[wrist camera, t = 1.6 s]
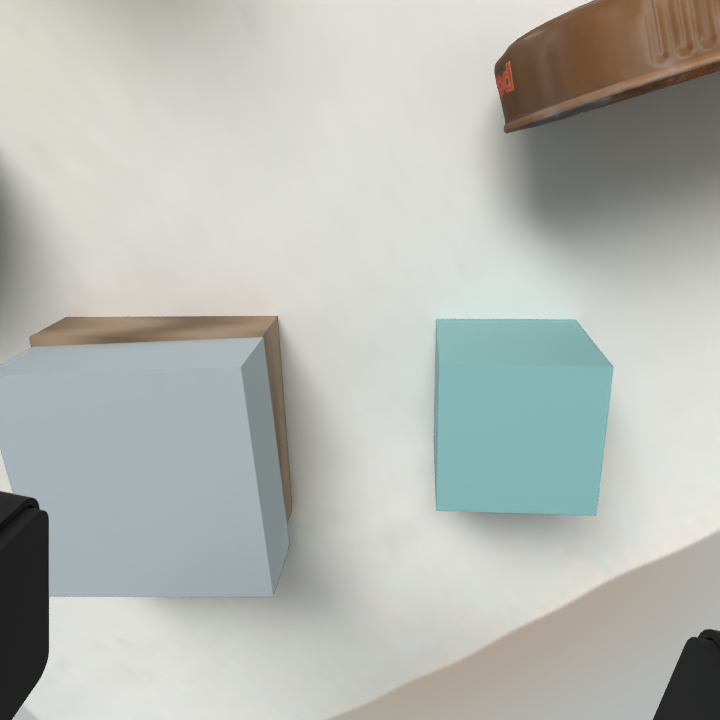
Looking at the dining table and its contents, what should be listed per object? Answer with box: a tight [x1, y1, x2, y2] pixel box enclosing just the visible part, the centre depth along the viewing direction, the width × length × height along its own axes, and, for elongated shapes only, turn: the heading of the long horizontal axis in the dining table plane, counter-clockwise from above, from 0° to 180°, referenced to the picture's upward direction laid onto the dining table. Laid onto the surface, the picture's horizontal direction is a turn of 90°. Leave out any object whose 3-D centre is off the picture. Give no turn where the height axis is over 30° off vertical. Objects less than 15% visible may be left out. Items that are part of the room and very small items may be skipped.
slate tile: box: [0, 337, 290, 597], centre depth 27 cm, size 10×10×4 cm
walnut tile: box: [29, 316, 292, 522], centre depth 30 cm, size 10×10×4 cm
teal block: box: [434, 319, 613, 516], centre depth 27 cm, size 6×6×6 cm
